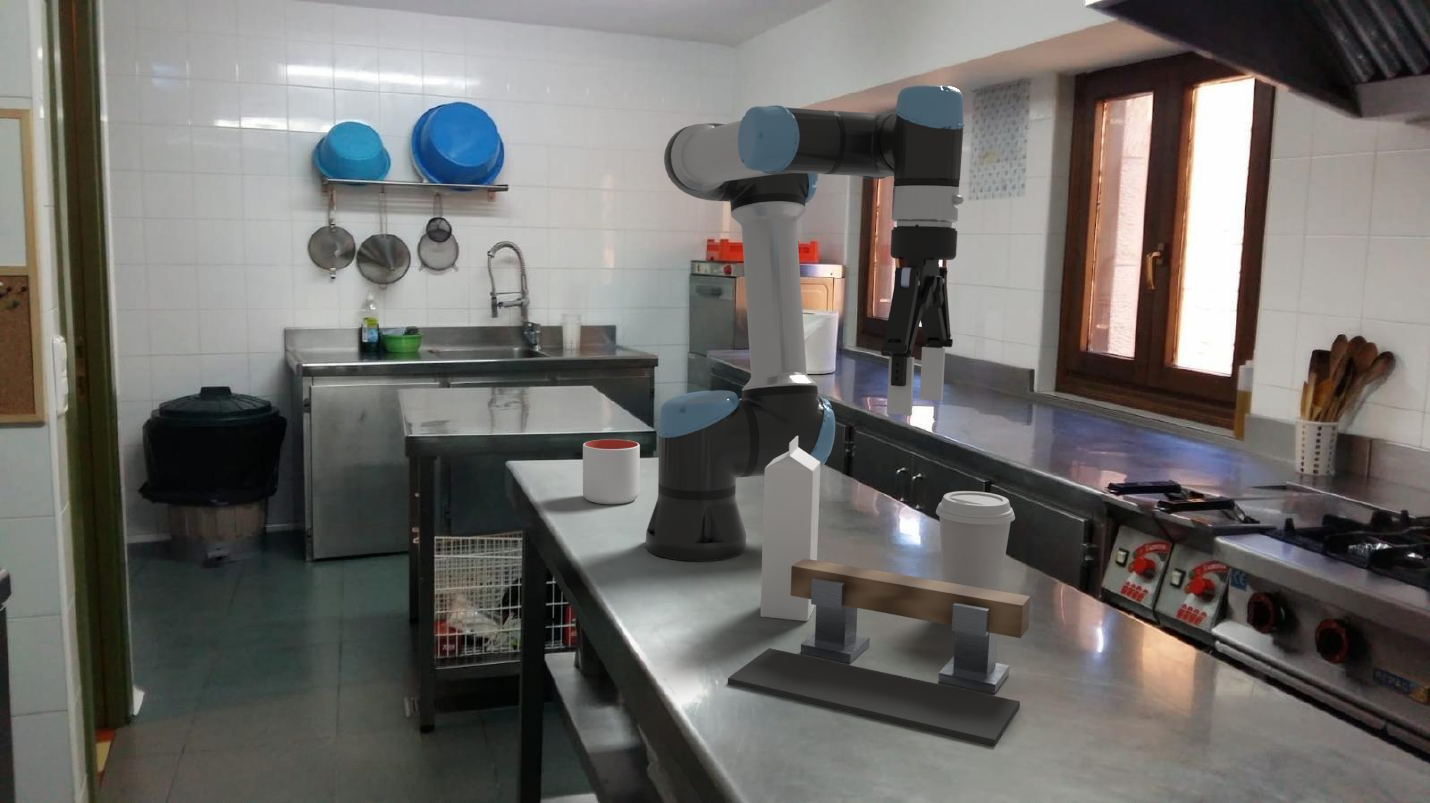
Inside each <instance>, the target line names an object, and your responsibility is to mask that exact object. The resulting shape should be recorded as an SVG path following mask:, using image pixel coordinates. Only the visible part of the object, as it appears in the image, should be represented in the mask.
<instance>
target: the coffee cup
mask: <svg viewBox="0 0 1430 803" xmlns="http://www.w3.org/2000/svg"><path fill="white" fill-rule="evenodd" d="M935 514H936V515H937V516H938V517H939V529H940V530H939V531H940V554H941V555H940V558H941V559H940V560H941V581H942V582H948V583H954V584H960V585H966V586H972V587H978V588H984V589H990V590H996V591H1001V587H1002V586H1001V585H1002V580H1003V572H1004V567H1005V560H1006V553H1007V546H1008V540H1009V535H1010V534H1009V533H1010V529H1011V528H1010V527H1011V523H1012V522H1013V521H1014V520H1016V516H1015V512H1014V510H1013V507H1011V504H1010V500H1009V499H1008V498H1007V497H1005V496H1003V495H999V494H997V493H996V494H995V493H991V492H984V491H971V490H969V491H967V490H961V491H959V490H958V491H952V492H947V493H945V494H944V495H943V497H942V499H941V502H939V503H938V505H937V507H936V511H935Z"/></svg>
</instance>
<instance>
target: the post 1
mask: <svg viewBox="0 0 1430 803" xmlns="http://www.w3.org/2000/svg"><path fill="white" fill-rule="evenodd" d="M811 604H813V605H815V624H814V625H815V626H814V627H815V628H814V629H815V630H814V634H812V635H811V636H810V637H808V638H807V639H805V640H804V641H803V642H802V643H800V653H801V654H805V655H810V656H813V657H819V658H824V659H830V660H833V661H838V662H844V663H848V664H851V663H852V662H853V661H855V659H857V658H858V657H859V656H860V655H861V654H862V653H864V651H866V650H867V649H868V648H869V647H870V644H871V643H870V639H871V638H870V637H867V636H862V635H857V631H858V630H857V628H858V627H857V626H858V624H857V623H858V608H855V607H850V606H845V583H843V582H838V581H832V580H826V579H821V578H814V579H812V590H811Z"/></svg>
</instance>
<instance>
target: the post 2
mask: <svg viewBox="0 0 1430 803" xmlns="http://www.w3.org/2000/svg"><path fill="white" fill-rule="evenodd" d="M989 615H990V608H986V607H980V606H974V605H969V604H963V603H957V602H955V603H954V604H953V615H952V625H951V631H952V632H955V633H954V650H953V656H952V657H951V658H950V660H949V661H948V662H947V663H946V664H945V665H944V666H943V668H942V669H941V670H940V671H939V672H938V683H942V684H946V685H947V684H948V685H950V686H951V685H952V686H957V687H960V688H961V687H962V688H965V689H966V688H967V689H970V690H971V689H972V690H975V691H981V692H983V693H984V692H986V693H990V694H994V695H996V693H997V692H998V690H999V689H1000V688H1001V686H1002V684H1003V683H1004V682H1005V680H1006V679H1007V678H1008V676H1010V665H1008V664H1003V663H998V662H997V648H998V647H997V646H998V634H995V633H990V632H989Z"/></svg>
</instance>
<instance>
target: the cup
mask: <svg viewBox="0 0 1430 803" xmlns="http://www.w3.org/2000/svg"><path fill="white" fill-rule="evenodd" d="M640 450H641V446H640V443H638V442H637V441H633V440H628V439H627V440H626V439H616V438H615V439H614V438H613V439H610V438H609V439H605V438H604V439H596V440H595V439H594V440H589V441H586V442H584V443H582V495H583V497H584V499H585V500H587V501H588V502H590V503H593V502H594V504H600V505H622V504H623V505H624V504H627V503H631V502H633V501H635V500H636V499H637V498H638V497H639V495H640V470H641V469H640V462H641V460H640V458H641V457H640V455H641V454H640V453H641V452H640Z"/></svg>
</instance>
